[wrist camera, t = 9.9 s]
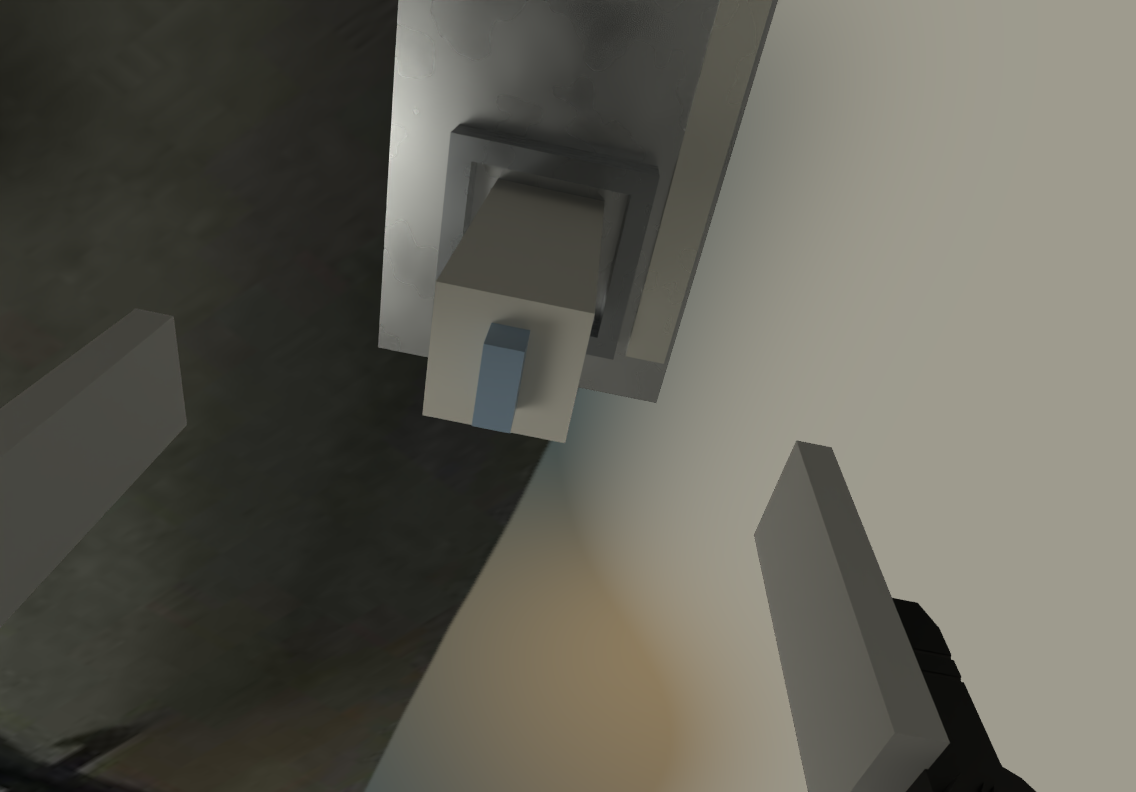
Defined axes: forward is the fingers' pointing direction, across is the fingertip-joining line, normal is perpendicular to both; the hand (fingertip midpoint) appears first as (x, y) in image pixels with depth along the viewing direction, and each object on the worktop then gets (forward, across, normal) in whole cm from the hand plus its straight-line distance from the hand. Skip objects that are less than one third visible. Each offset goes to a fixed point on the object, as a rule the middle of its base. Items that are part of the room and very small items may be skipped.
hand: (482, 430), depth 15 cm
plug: (+14, 0, -1) cm, 14 cm away
